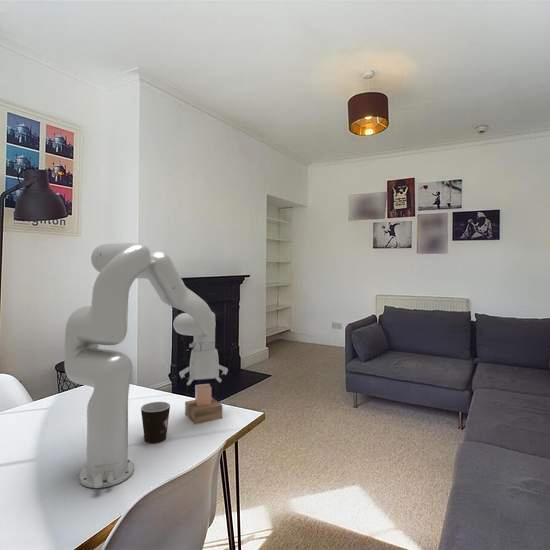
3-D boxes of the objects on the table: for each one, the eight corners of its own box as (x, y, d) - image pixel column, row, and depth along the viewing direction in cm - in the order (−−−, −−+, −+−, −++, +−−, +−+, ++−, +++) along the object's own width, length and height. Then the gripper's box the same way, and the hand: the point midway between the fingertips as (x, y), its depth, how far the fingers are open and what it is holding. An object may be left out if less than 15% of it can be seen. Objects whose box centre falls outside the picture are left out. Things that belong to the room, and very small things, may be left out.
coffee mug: (156, 430, 120) (157, 399, 120) (175, 436, 115) (176, 405, 115) (126, 444, 110) (126, 411, 110) (145, 452, 105) (145, 417, 105)
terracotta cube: (211, 404, 131) (211, 387, 131) (197, 406, 129) (197, 389, 129) (208, 400, 135) (209, 383, 135) (195, 401, 134) (195, 385, 134)
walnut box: (222, 419, 130) (222, 405, 130) (195, 425, 125) (195, 410, 125) (210, 410, 139) (210, 396, 139) (185, 415, 133) (185, 401, 133)
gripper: (180, 349, 125) (179, 399, 125) (230, 346, 131) (229, 394, 131) (178, 345, 132) (177, 392, 132) (225, 342, 138) (225, 388, 138)
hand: (203, 393), depth 132 cm, fingers open, 9 cm apart
